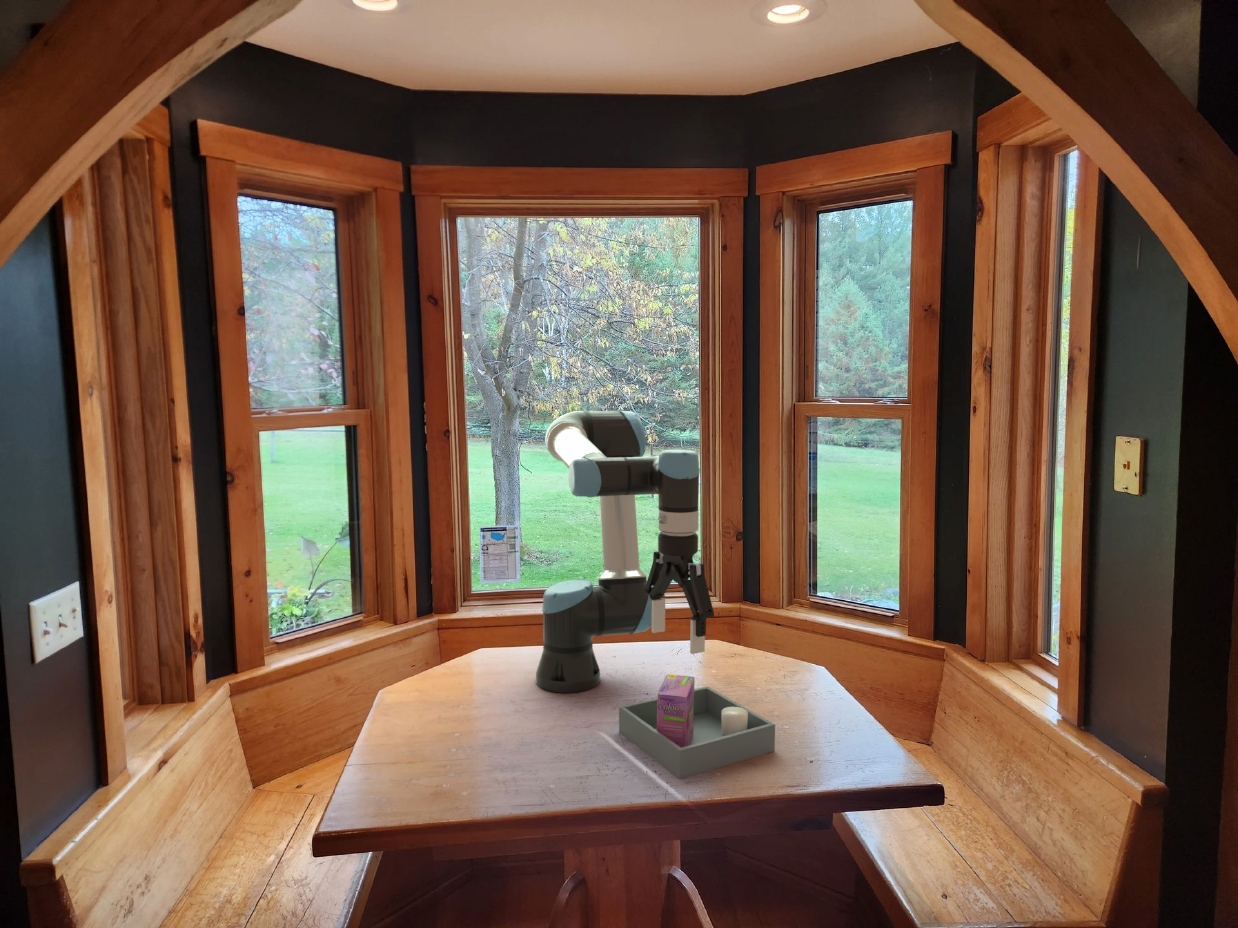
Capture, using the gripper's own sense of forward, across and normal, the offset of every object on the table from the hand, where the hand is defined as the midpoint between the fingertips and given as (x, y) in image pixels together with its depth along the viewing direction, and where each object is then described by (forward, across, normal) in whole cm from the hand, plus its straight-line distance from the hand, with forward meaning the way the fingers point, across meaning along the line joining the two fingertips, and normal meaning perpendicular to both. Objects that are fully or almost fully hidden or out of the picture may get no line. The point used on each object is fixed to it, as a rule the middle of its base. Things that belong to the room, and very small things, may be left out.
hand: (677, 641), depth 149 cm
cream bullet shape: (+20, +5, +10) cm, 23 cm away
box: (+20, 0, 0) cm, 20 cm away
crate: (+21, +1, +3) cm, 21 cm away
